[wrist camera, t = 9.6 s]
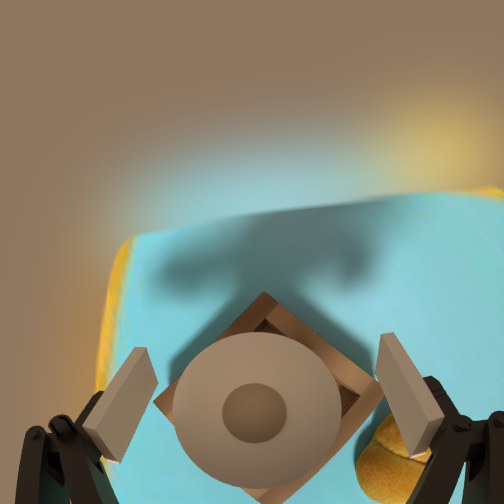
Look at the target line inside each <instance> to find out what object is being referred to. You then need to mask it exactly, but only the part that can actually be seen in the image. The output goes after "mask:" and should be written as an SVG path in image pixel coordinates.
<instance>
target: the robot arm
mask: <svg viewBox="0 0 504 504" xmlns="http://www.w3.org/2000/svg"><path fill="white" fill-rule="evenodd" d="M375 374H376V376H377V379H378V381H379V383H380V385H381V388H382V390H383V392H384V395H385V397H386V399H387V402H388V404H389V406H390V409H391V411H392V414H393V416H394V419H395V421H396V424H397V426H398V429H399V431H400V434H401V436H402V439H403V441H404V444H405V446H406V449H407V452H408V454H409V457H410V459H411V458H414V457H417V456H421V455H424V454H425V453H426V451H427V450H428V448H430V450H431V455H430V457H429V458H428V460H427V461H426V463H425V468H424V470H423V472H422V474H421V476H420V478H419V480H418V482H417V484H416V486H415V488H414V489H413V491H412V493H411V495H410V497H409V499H408V500H407V502H406V504H448V503H449V501H450V499H451V496H452V494H453V492H454V489H455V487H456V484H457V481H458V479H459V476H460V473H461V471H462V468H463V465H464V462H466V470H465V481H464V490H463V498H462V504H504V411H495V412H493V413H492V414H491V415H490V417H489V418H488V420H480V421H472V420H471V419H470V418H469V417H467V416H465V415H460V414H459V412H458V410H457V409H456V407H455V406H454V404H453V402H452V401H451V399H450V398H449V396H448V395H447V393H446V391H445V390H444V389H443V387H442V385H441V384H440V382H439V381H438V380H437V379H435V378H434V377H433V376H428V377H424V378H422V377H421V375H420V373H419V372H418V370H417V369H416V367H415V365H414V364H413V362H412V361H411V359H410V357H409V356H408V354H407V353H406V351H405V350H404V348H403V346H402V345H401V343H400V342H399V340H398V339H397V337H396V336H395V334H394V333H386V334H381V337H380V344H379V350H378V357H377V363H376V369H375ZM157 385H158V381H157V378H156V375H155V372H154V369H153V367H152V364H151V361H150V358H149V355H148V352H147V349H146V347H134V349H133V350H132V352H131V353H130V355H129V356H128V357H127V359H126V360H125V362H124V363H123V365H122V366H121V368H120V369H119V371H118V372H117V374H116V375H115V376H114V378H113V379H112V381H111V382H110V384H109V385H108V387H107V388H106V390H105V391H99V392H97V393H96V394H95V395H93V396H92V398H91V399H90V401H89V403H88V404H87V405H86V407H85V409H84V410H83V411H82V412H81V414H80V415H79V417H78V419H77V420H76V421H75V423H73V422H72V420H71V419H70V417H68V416H67V415H63V414H62V415H57V416H55V417H53V418H52V419H51V420H50V422H49V425H48V427H49V429H50V430H51V432H52V433H47V432H46V431H45V430H44V428H43V427H41V426H33V427H31V428H29V429H28V431H27V432H26V434H25V439H24V444H23V449H22V454H21V460H20V465H19V472H18V479H17V488H16V498H15V504H70V499H71V503H72V504H119V502H118V500H117V498H116V496H115V493H114V491H113V489H112V487H111V484H110V482H109V479H108V477H107V474H106V472H105V469H104V467H103V464H102V462H101V460H100V457H101V456H102V455H103V456H104V458H105V459H106V460H107V461H109V462H113V463H117V464H120V463H121V461H122V459H123V457H124V455H125V452H126V450H127V448H128V446H129V444H130V442H131V439H132V437H133V435H134V433H135V431H136V429H137V427H138V424H139V422H140V420H141V418H142V416H143V414H144V412H145V410H146V408H147V406H148V403H149V401H150V399H151V397H152V395H153V393H154V391H155V389H156V387H157Z"/></svg>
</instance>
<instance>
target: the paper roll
mask: <svg viewBox="0 0 504 504" xmlns="http://www.w3.org/2000/svg"><path fill="white" fill-rule="evenodd" d="M341 409H342V406H341V398H340V394H339V390H338V386H337V384H336V382H335V379H334V377H333V375H332V374H331V372H330V370H329V369H328V367H327V366H326V365H325V363H324V362H323V361H322V360H321V359H320V358H319V357H318V356H317V355H316V354H315V353H314V352H313V351H311V350H310V349H309V348H307V347H306V346H304V345H302V344H301V343H299V342H297V341H295V340H293V339H290V338H287V337H285V336H281V335H277V334H272V333H265V332H250V333H241V334H237V335H233V336H229V337H227V338H224V339H221V340H219V341H217V342H215V343H213V344H211V345H210V346H208V347H207V348H205V349H204V350H203V351H202V352H200V353H199V354H198V355H197V356H196V357H195V358H194V359H193V360H192V361H191V362H190V363H189V365H188V366H187V367H186V369H185V370H184V372H183V374H182V376H181V377H180V379H179V381H178V384H177V387H176V390H175V394H174V399H173V410H172V411H173V422H174V427H175V431H176V434H177V437H178V440H179V442H180V444H181V445H182V447H183V449H184V451H185V452H186V454H187V455H188V456H189V458H190V459H191V460H192V461H193V462H194V463H195V464H196V465H197V466H198V467H199V468H200V469H201V470H203V471H204V472H205V473H207V474H208V475H210V476H211V477H213V478H215V479H217V480H219V481H221V482H223V483H226V484H229V485H232V486H236V487H241V488H248V489H266V488H273V487H278V486H282V485H285V484H288V483H291V482H293V481H295V480H297V479H299V478H301V477H303V476H304V475H306V474H307V473H309V472H310V471H311V470H313V469H314V468H315V467H316V466H317V465H318V464H319V463H320V462H321V461H322V460H323V459H324V458H325V457H326V455H327V454H328V452H329V451H330V449H331V448H332V446H333V444H334V442H335V440H336V437H337V434H338V431H339V428H340V422H341Z"/></svg>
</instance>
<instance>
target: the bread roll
mask: <svg viewBox="0 0 504 504" xmlns="http://www.w3.org/2000/svg"><path fill="white" fill-rule="evenodd" d="M430 455H431V450H430V448H428V450H427V451H426V453H425V454H424V455H421V456H417V457H414V458H411V459H410V457H409V454H408V452H407V449H406V446H405V444H404V441H403V439H402V436H401V434H400V431H399V429H398V426H397V424H396V421H395V419H394V416H393V414H392V412H391V413H390V414H389V415H388V416H387V417H386V418H385V419H384V420H383V421H382V422H381V423H380V425H379V426H378V428H377V430H376V432H375V433H374V436H373V438H372V439H371V441H370V443H369V444H368V446H367V447H366V448H365V449H364V450H363V451H362V453H361V454H360V456H359V458H358V460H357V462H356V466H355V469H356V476H357V480H358V483H359V485H360V487H361V489H362V490H363V491H364V493H365V494H366V495H367V496H368V497H369V498H370V499H372V500H374V501H376V502H379V503H382V504H404V503H406V502H407V500H408V499H409V497H410V495H411V493H412V491H413V489H414V488H415V486H416V484H417V482H418V480H419V478H420V476H421V474H422V472H423V470H424V468H425V463H426V461H427V460H428V458H429V457H430Z"/></svg>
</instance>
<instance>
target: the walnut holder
mask: <svg viewBox="0 0 504 504" xmlns="http://www.w3.org/2000/svg"><path fill="white" fill-rule="evenodd" d="M250 332H265V333H272V334H277V335H281V336H285V337H287V338H290V339H293V340H295V341H297V342H299V343H301V344H302V345H304V346H306V347H307V348H309V349H310V350H311V351H313V352H314V353H315V354H316V355H317V356H318V357H319V358H320V359H321V360H322V361H323V362H324V363H325V365H326V366H327V367H328V369H329V370H330V372H331V374H332V375H333V377H334V379H335V382H336V384H337V386H338V390H339V394H340V398H341V406H342V409H341V422H340V428H339V431H338V434H337V437H336V440H335V442H334V444H333V446H332V448H331V449H330V451H329V452H328V454H327V455H326V457H325V458H324V459H323V460H322V461H321V462H320V463H319V464H318V465H317V466H316V467H315V468H314V469H313V470H311V471H310V472H309V473H307V474H306V475H304V476H303V477H301V478H299V479H297V480H295V481H293V482H291V483H288V484H285V485H282V486H278V487H273V488H266V489H248V488H241V487H240V488H241V489H243V490H244V491H245V492H246V493H248V494H249V495H250V496H252V497H253V498H254V499H256V500H257V501H258V502H260V503H261V504H282V503H283V502H284V501H286V500H287V499H288V498H289V497H290V496H292V495H293V494H294V493H295V492H296V491H297V490H299V489H300V488H301V487H302V486H303V485H304V484H305V483H306V482H308V481H309V480H310V479H311V478H312V477H313V476H314V475H315V474H316V473H317V472H318V471H319V470H320V469H321V468H322V467H323V466H324V465H325V464H326V463H327V462H328V461H329V460H330V459H331V458H332V457H333V456H334V455H335V454H336V453H337V452H338V451H339V450H340V449H341V448H342V447H343V446H344V444H345V443H346V442H347V441H348V440H349V439H350V438H351V437H352V436H353V434H354V433H355V432H356V431H357V430H358V429H359V427H360V426H361V425H362V424H363V423H364V421H365V420H366V419H367V418H368V417H369V415H370V414H371V413H372V412H373V410H374V409H375V408H376V407H377V405H378V404H379V403H380V401H381V400H382V399H383V397H384V396H385V395H384V392H383V390H382V388H381V385H380V383H379V382H378V381H376V380H375V379H374V378H372V377H371V376H370V375H368V374H367V373H366V372H365V371H363V370H362V369H361V368H359V367H358V366H357V365H356V364H354V363H353V362H352V361H351V360H349V359H348V358H347V357H345V356H344V355H343V354H342V353H340V352H339V351H338V350H337V349H335V348H334V347H333V346H332V345H330V344H329V343H328V342H327V341H325V340H324V339H323V338H322V337H320V336H319V335H318V334H317V333H315V332H314V331H313V330H312V329H310V328H309V327H308V326H307V325H305V324H304V323H303V322H302V321H300V320H299V319H298V318H297V317H295V316H294V315H293V314H292V313H290V312H289V311H288V310H287V309H286V308H284V307H283V306H282V305H281V304H279V303H278V302H277V301H276V300H275V299H273V298H272V297H271V296H270V295H268V294H267V293H266V292H265V291H263V292H262V293H261V294H260V295H259V297H258V298H257V299H256V300H255V301H254V302H253V303H252V304H251V305H250V306H249V307H248V308H247V309H246V310H245V311H244V312H243V313H242V314H241V315H240V316H239V317H238V318H237V319H236V320H235V321H234V322H233V323H232V324H231V325H230V326H229V327H228V328H227V329H226V330H225V331H224V332H223V333H222V334H221V335H220V336H219V337H218V338H217V339H216V340H215V341H214V342H213V343H215V342H217V341H219V340H221V339H224V338H227V337H229V336H233V335H237V334H241V333H250ZM213 343H212V344H213ZM182 374H183V373H182ZM182 374H181V375H180V376H179V377H178V378H177V379H176V380H175V381H174V382H173V383H172V384H171V385H170V386H168V387H167V388H166V389H165V390H164V391H163V392H162V393H161V394H160V395H159V396H158V397H157V398H156V399H155V400H154V401H153V403H154V404H155V405H156V406H157V407H158V408H159V410H160V411H161V412H162V413H163V414H164V415H165V416H166V418H167V419H168V420H169V421H170V422H171V423H172V424H173V425H174V422H173V411H172V410H173V399H174V394H175V390H176V387H177V384H178V381H179V379H180V377H181V376H182Z"/></svg>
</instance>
